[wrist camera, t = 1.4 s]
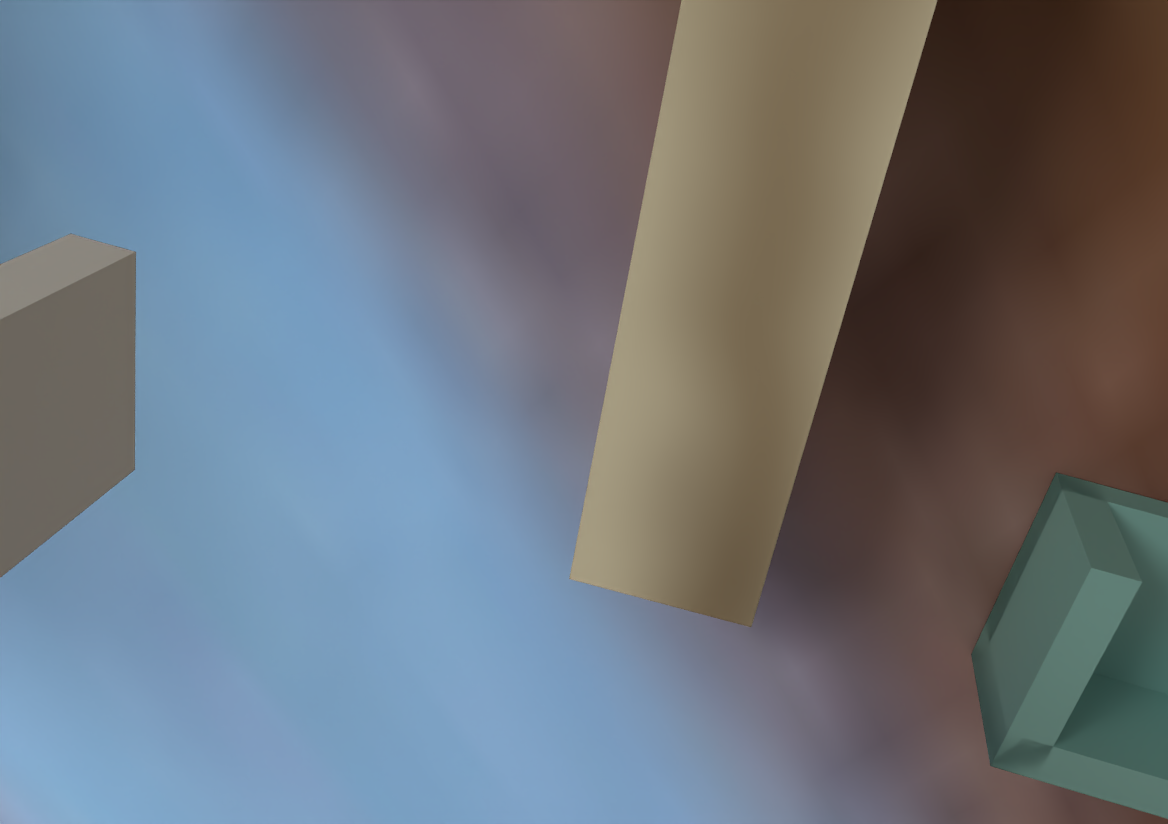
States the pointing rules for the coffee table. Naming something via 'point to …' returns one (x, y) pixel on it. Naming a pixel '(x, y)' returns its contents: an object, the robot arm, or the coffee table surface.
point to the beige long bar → (739, 287)
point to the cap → (1083, 649)
